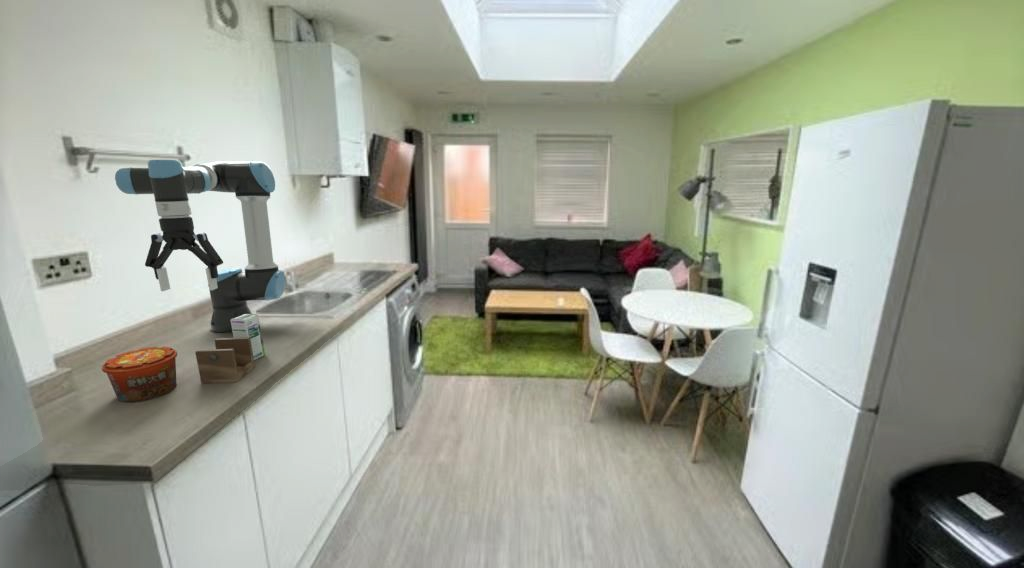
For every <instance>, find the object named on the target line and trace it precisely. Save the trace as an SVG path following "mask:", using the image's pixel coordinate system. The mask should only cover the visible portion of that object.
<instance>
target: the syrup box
mask: <svg viewBox="0 0 1024 568" xmlns="http://www.w3.org/2000/svg"><path fill="white" fill-rule="evenodd" d="M230 321H231V326H232V331H231V332H232V336H233V338H247V337H250V339H251V345H252V351H253V358H254V361H255V360H257V359H259V358H262V357H263V356H265V355H266V352H265V347H264V340H263V339H264V338H263V336H262V335H263V334H262V329H261V322H260V316H259V314H255V313H252V314H243V315H241V316H239V317H236V318H234V319H231V320H230Z"/></svg>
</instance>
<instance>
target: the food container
mask: <svg viewBox="0 0 1024 568" xmlns="http://www.w3.org/2000/svg"><path fill="white" fill-rule="evenodd" d="M177 357H178V351H177V350H176V349H173V347H171V346H161V347H158V346H150V347H149V346H148V347H141V348H140V349H138V350H129V351H126V352H122V353H119V354H117V355H116V356H115V357H112V358H111V357H110V358H108V359H107V360H106V361H105V362H104V364H103V365H102V367H101V371H102V372H103V373H105V374H106V375H107V377H108V379H109V382H110V384H111V386H112V389H113V391H114V394H115V396H116V398H117V400H118V401H120V402H123V403H125V402H126V403H138V402H144V401H148V400H149V401H150V400H152V399H155V398H159V397H161V396H163V395H166V394H168V393H170V392H171V391H172V390H175V388H176V387H177V384H178V383H177V365H176V364H177V363H176V358H177Z"/></svg>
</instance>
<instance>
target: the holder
mask: <svg viewBox="0 0 1024 568" xmlns="http://www.w3.org/2000/svg"><path fill="white" fill-rule="evenodd" d="M214 344H215V345H214V347H215V348H212V349H211V348H209V349H196V350H195V352H194V353H195V359H196V364H197V369H198V373H199V379H200V383H201V384H221V383H226V384H228V383H238V382H239V381H241V379H243V378H244V377H245V376H247V374H248V373H250V372H251V371H252V370H254V369H255V368H256V363H255V360H254V358H253V351H252V345H251V339H250V337H247V338H234V337H224V338H223V337H220V338H219V337H218V338H215V339H214Z"/></svg>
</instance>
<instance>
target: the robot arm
mask: <svg viewBox="0 0 1024 568" xmlns="http://www.w3.org/2000/svg"><path fill="white" fill-rule="evenodd" d="M114 180H115V184H116V186H117V188H118V189H119V190H120V191H121V192H122V193H124V194H127V195H153V197H154V201H155V202H154V203H155V207H156V212H157V216H158V217H160V218H159V219H158V223H159V227H160V231H161V232H162V234H161V233H160V232H159V233H155V234H151V235H150V241H151V242H150V246H149V250H148V253H147V256H146V260H145V263H144V266H145V267H149V268H151V269H153V270H154V276H155V279H156V280H158V284H159V287H160V288H159V289H160V291H161V292H165V291H168V290H171V284H170V279H169V275H168V271H167V270H168V269H167V267H166V266H165V263H166V262H167V260H168V259H169V258H170V256H171V254H172V253H173V252H174V251H178V250H181V251H185V250H187V251H188V252H191V253H192V254H193V255H194V256H196V258H198V259H199V260H200V262H202V263H203V264H204V265H206V267H207V268H205V272H206V273H205V274H206V278H207V279H206V280H207V283H208V284H207V285H208V286H207V287H208V289H209V295H210V301H211V305H212V314H211V318H210V324H209V325H210V330H211V331H212V332H214V333H215V332H216V333H227V332H228V333H229V332H233V331H232V326H231V321H230V320H231V319H234V318H236V317H239V316H241V315H243V314H253V313H252V311H251V309H250V308H249V306H248V302H249V301H250V302H252V301H267V302H268V301H270V300H271V301H273V300H278V299H280V298H281V297H282V295H283V294H284V291H285V288H286V275H285V272H284V271H283V270H280V269H279V265H278V264H276V263H275V262H274V255H273V247H272V238H271V230H270V219H269V211H268V204H267V203H268V200H269V199H271V193H274V192H275V191H276V190H275V189H276V180H275V177H274V173H273V172H272V170H271V168H270V166H269V165H268V164H267V163H265V162H264V161H257V160H256V161H255V160H237V161H234V160H232V161H227V160H223V161H222V160H221V161H214V162H209V163H199V164H197V163H196V164H194V165H192V166H188V167H187V166H185V167H184V166H183V163H182V162H181V161H180V160H179V159H163V158H162V159H150V160H148V161H147V167H124V168H119V169H118V170H116V172H115V175H114ZM205 192H219V193H235V198H236V199H238V200H239V201H240V204H241V213H242V220H243V221H242V222H243V228H244V237H245V246H246V253H247V260H248V262H247V265H246V266H245V267H244V271H243V269H242V268H241V267H233V268H227V269H222V270H218V266H221V265H223V264H224V261H223V259H222V257H221V256H220V255H219V254H218V252H217V251H216V250H215V247H214V246H213V245H212V243H211V242H210V241H209V238H208V235H207V233H206V232H203V233H198V234H196V233H195V232H194V229H195V225H194V220H193V217H191V216H190V215H192V211H191V210H192V209H191V204H190V200H189V195H191V194H197V195H198V194H201V193H205ZM163 241H164V242H165V244H164V246H163V247H162V245H163ZM196 241H197V242H198V243H199V244H198V243H197V242H196ZM161 248H162V250H161ZM160 251H161V252H160Z"/></svg>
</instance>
